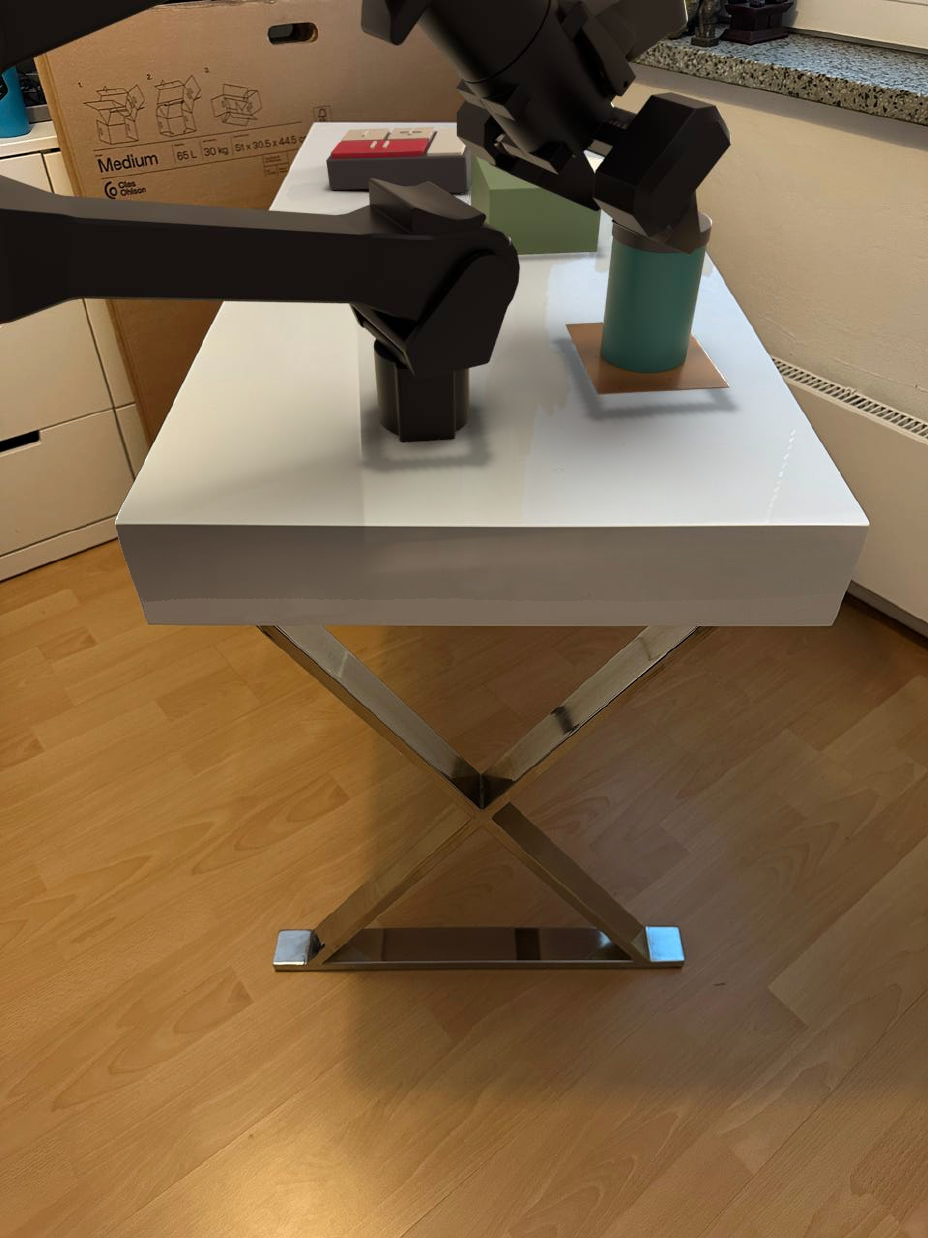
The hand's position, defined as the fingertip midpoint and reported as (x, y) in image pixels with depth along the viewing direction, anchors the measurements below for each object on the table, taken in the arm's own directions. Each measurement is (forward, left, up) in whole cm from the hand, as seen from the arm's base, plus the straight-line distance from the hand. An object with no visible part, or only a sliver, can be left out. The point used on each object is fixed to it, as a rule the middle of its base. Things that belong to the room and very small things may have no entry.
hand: (645, 225), depth 55 cm
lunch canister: (+1, -1, -9) cm, 9 cm away
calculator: (+50, +13, -11) cm, 52 cm away
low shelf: (+1, -1, -10) cm, 10 cm away
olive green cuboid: (+31, +2, -10) cm, 32 cm away
